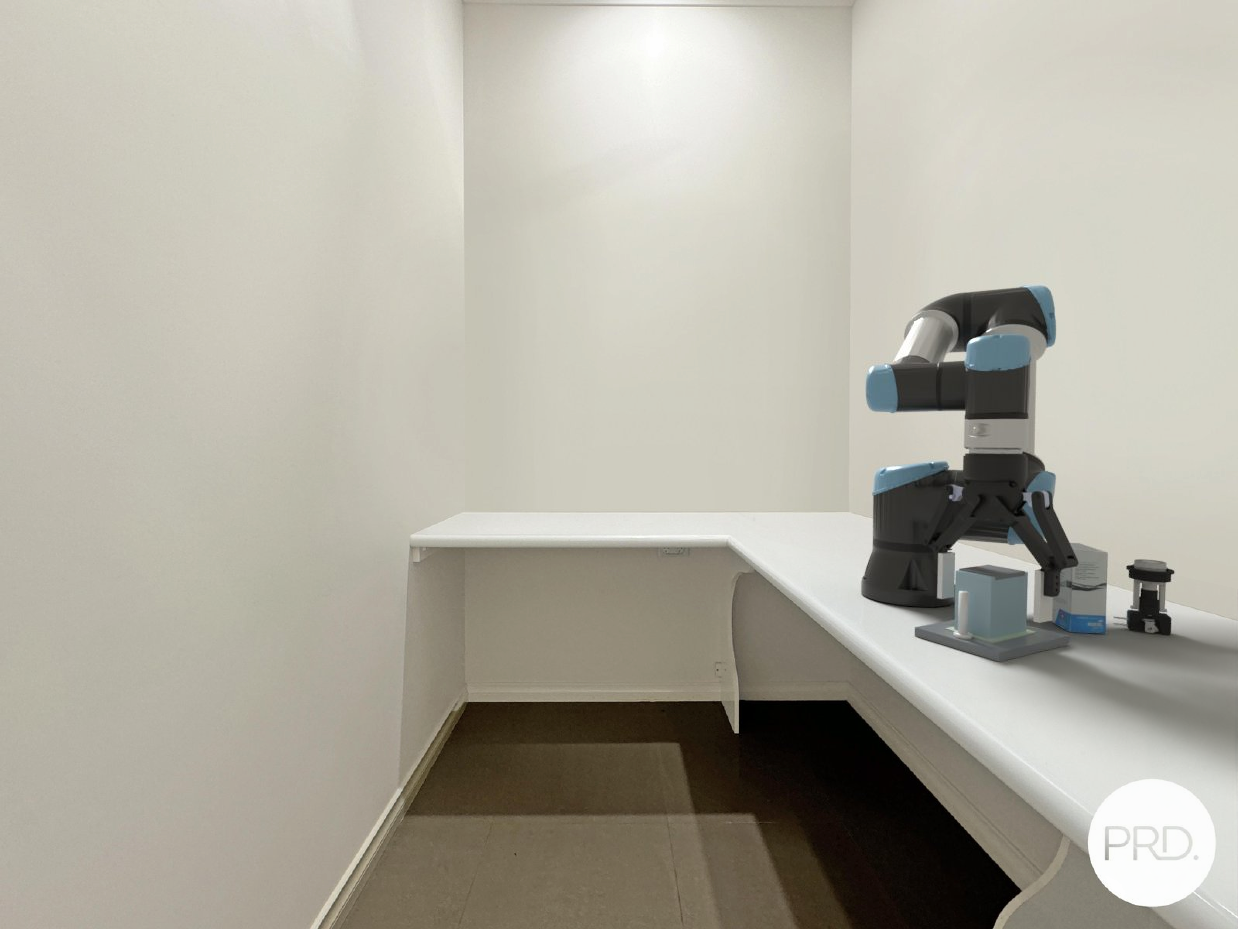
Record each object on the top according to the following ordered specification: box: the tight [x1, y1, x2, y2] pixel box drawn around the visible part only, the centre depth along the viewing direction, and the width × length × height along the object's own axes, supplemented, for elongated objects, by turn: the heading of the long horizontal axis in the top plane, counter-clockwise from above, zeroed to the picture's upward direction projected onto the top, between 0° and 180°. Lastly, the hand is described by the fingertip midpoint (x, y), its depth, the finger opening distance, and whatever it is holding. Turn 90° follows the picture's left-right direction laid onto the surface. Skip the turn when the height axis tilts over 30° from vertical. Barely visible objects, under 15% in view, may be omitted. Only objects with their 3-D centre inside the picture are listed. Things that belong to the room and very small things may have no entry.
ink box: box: [1050, 542, 1109, 635], centre depth 97 cm, size 8×5×12 cm, turn 168°
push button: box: [1112, 558, 1175, 636], centre depth 94 cm, size 7×5×10 cm
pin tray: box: [914, 591, 1070, 663], centre depth 89 cm, size 12×15×7 cm
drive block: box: [953, 564, 1029, 639], centre depth 89 cm, size 5×8×8 cm, turn 118°
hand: (990, 608), depth 89 cm, fingers open, 13 cm apart
